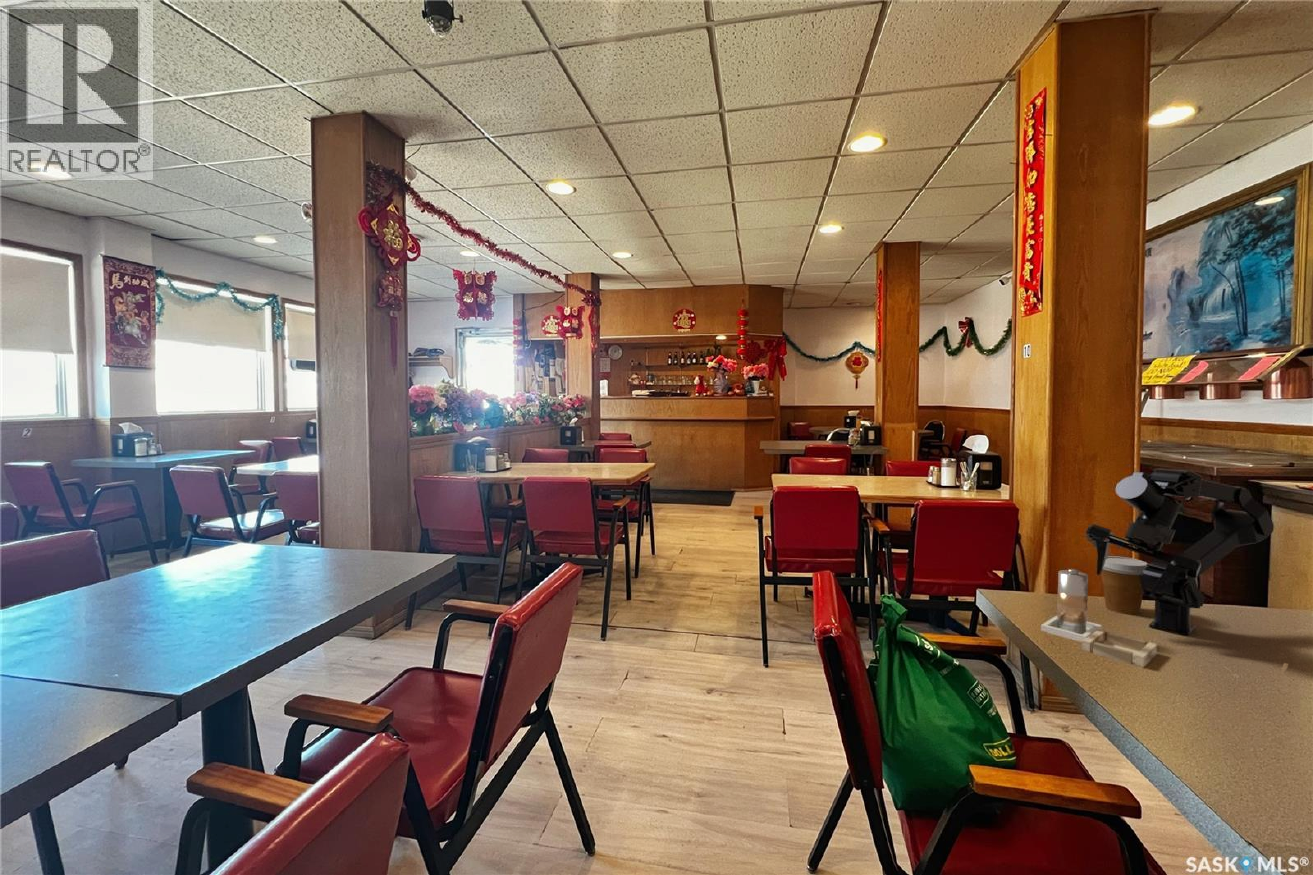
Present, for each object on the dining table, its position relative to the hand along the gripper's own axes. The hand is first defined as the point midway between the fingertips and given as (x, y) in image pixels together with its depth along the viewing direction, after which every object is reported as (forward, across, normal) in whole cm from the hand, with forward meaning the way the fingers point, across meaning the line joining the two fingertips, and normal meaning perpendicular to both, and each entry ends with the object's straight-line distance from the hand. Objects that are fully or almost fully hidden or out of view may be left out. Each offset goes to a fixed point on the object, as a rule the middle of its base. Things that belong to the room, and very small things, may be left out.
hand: (1123, 584), depth 117 cm
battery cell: (+14, -5, 0) cm, 14 cm away
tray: (+14, -4, +1) cm, 15 cm away
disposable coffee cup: (+1, -1, +23) cm, 23 cm away
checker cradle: (+15, +4, -5) cm, 16 cm away
